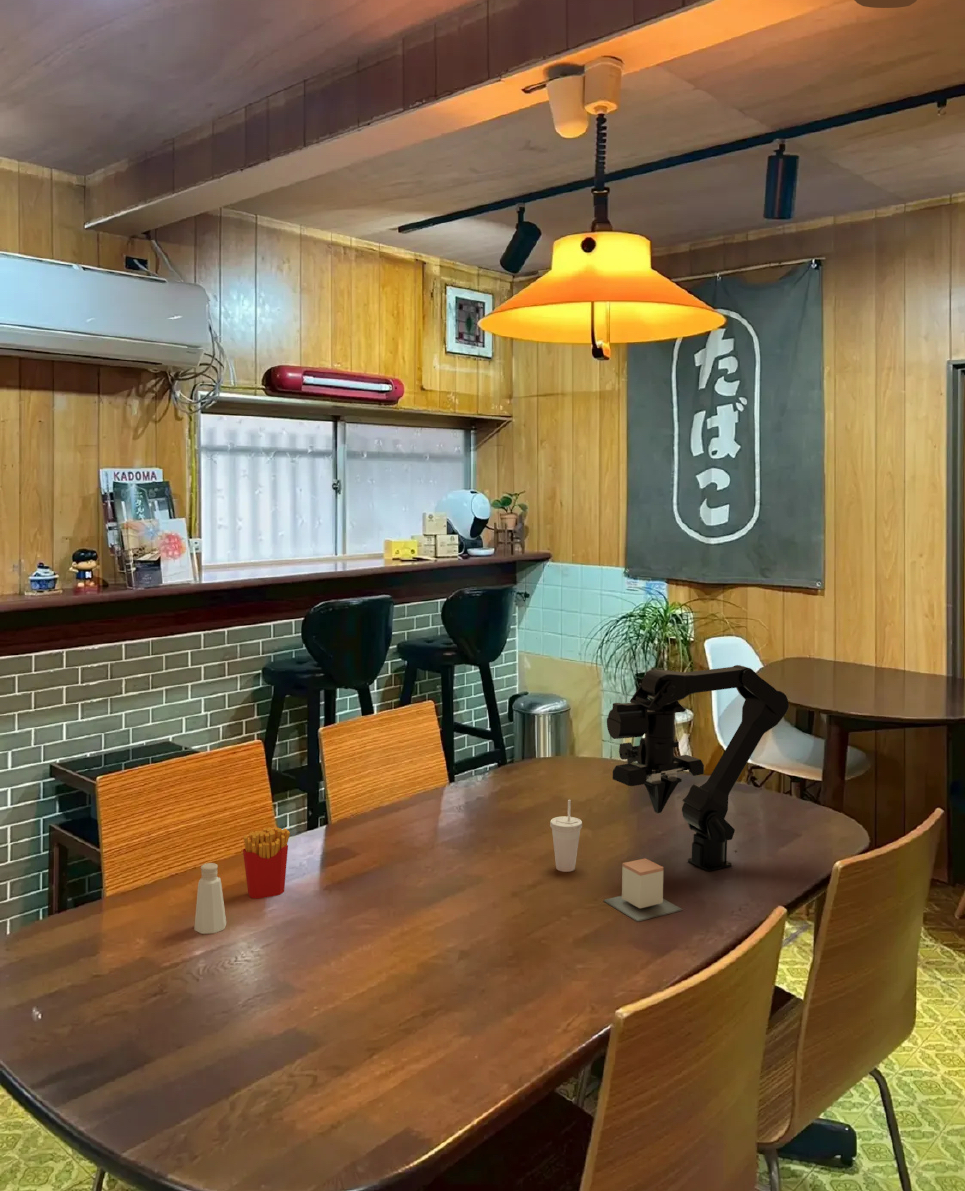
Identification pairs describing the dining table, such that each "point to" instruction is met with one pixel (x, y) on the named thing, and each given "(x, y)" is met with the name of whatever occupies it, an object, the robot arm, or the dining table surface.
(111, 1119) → the dining table surface
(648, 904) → the cream orange-topped box
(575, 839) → the smoothie
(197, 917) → the pepper shaker
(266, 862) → the french fries
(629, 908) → the grey flat square slab
